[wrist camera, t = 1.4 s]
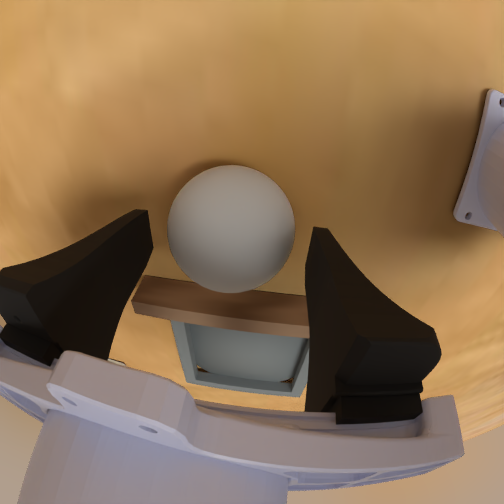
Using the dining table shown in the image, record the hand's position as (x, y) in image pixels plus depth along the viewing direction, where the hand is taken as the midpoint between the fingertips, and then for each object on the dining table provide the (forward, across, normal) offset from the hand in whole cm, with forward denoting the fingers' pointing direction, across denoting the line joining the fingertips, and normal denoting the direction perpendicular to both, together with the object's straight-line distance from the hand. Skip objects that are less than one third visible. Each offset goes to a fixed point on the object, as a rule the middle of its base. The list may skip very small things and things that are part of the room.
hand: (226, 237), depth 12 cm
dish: (+3, -1, +14) cm, 14 cm away
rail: (+3, -1, +7) cm, 8 cm away
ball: (+3, 0, 0) cm, 3 cm away
